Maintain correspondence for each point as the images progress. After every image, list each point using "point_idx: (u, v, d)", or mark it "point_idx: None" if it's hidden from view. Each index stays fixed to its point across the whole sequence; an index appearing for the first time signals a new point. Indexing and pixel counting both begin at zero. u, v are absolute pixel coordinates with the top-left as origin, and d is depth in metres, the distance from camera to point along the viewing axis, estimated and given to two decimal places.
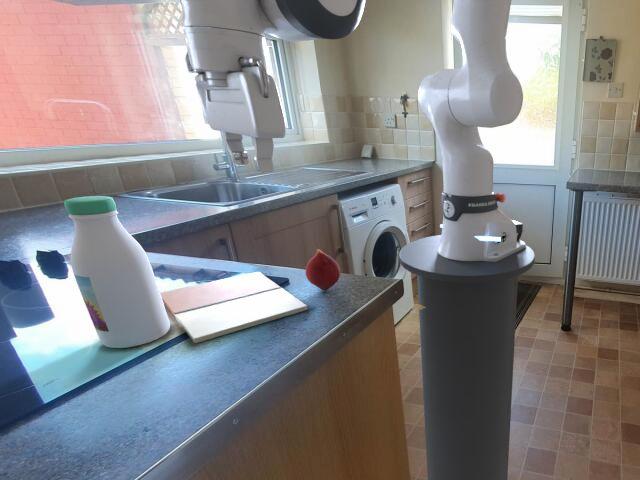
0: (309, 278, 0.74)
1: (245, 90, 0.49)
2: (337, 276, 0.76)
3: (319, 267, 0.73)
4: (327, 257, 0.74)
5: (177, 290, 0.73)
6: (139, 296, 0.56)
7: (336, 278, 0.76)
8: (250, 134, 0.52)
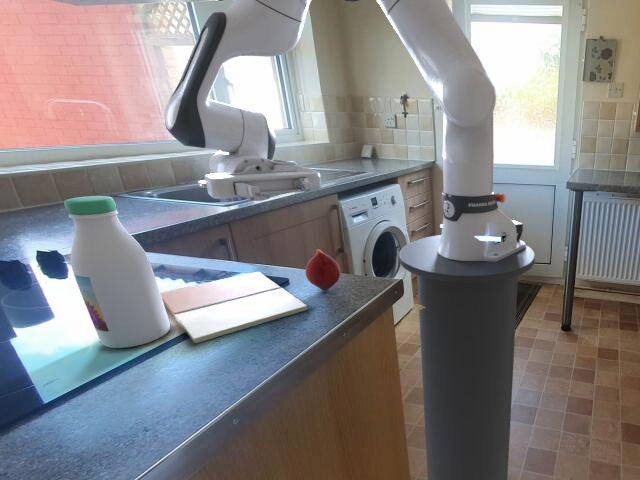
0: (309, 278, 0.74)
1: None
2: (337, 276, 0.76)
3: (319, 267, 0.73)
4: (327, 257, 0.74)
5: (177, 290, 0.73)
6: (139, 296, 0.56)
7: (336, 278, 0.76)
8: (232, 197, 0.76)
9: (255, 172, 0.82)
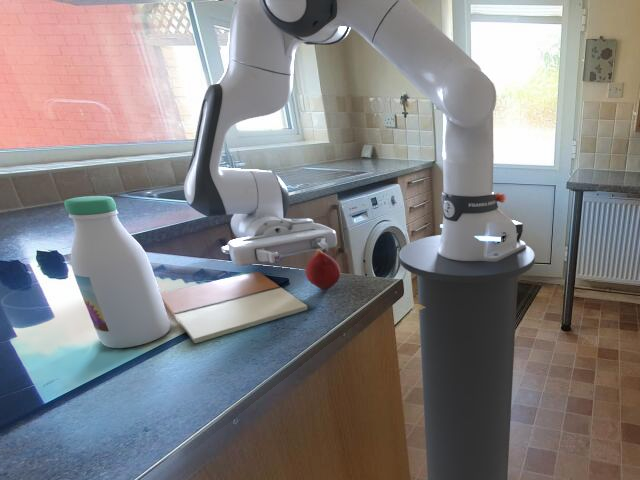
0: (309, 278, 0.74)
1: None
2: (337, 276, 0.76)
3: (319, 267, 0.73)
4: (327, 257, 0.74)
5: (177, 290, 0.73)
6: (139, 296, 0.56)
7: (336, 278, 0.76)
8: (253, 263, 0.79)
9: (274, 234, 0.86)
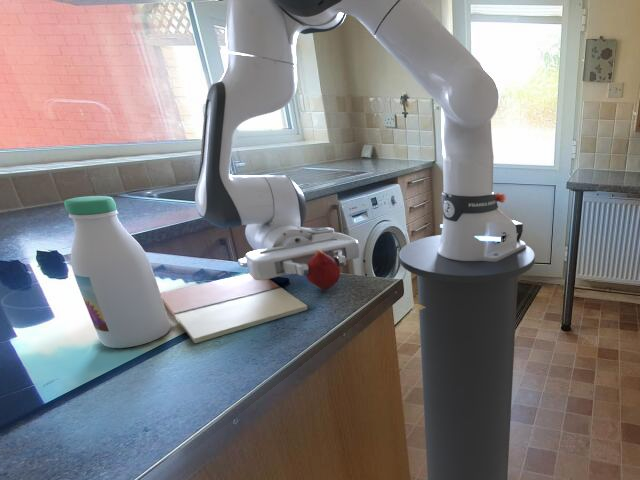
0: (309, 278, 0.74)
1: None
2: (337, 276, 0.76)
3: (319, 267, 0.73)
4: (327, 257, 0.74)
5: (177, 290, 0.73)
6: (139, 296, 0.56)
7: (336, 278, 0.76)
8: (273, 277, 0.73)
9: (294, 245, 0.80)
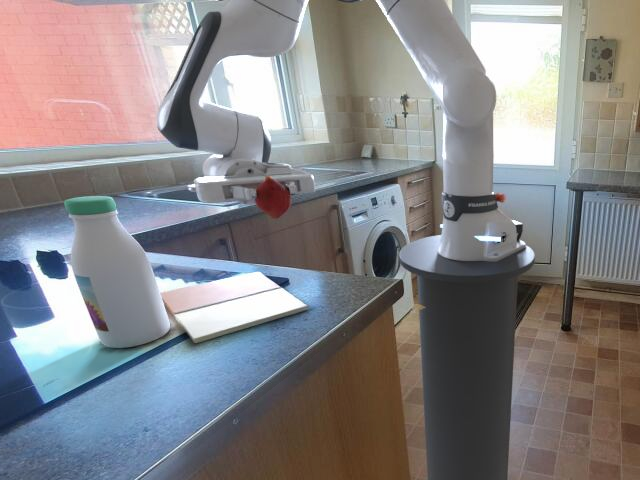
0: (258, 203, 0.74)
1: None
2: (287, 203, 0.76)
3: (268, 192, 0.73)
4: (276, 183, 0.74)
5: (177, 290, 0.73)
6: (139, 296, 0.56)
7: (286, 205, 0.76)
8: None
9: (247, 175, 0.80)
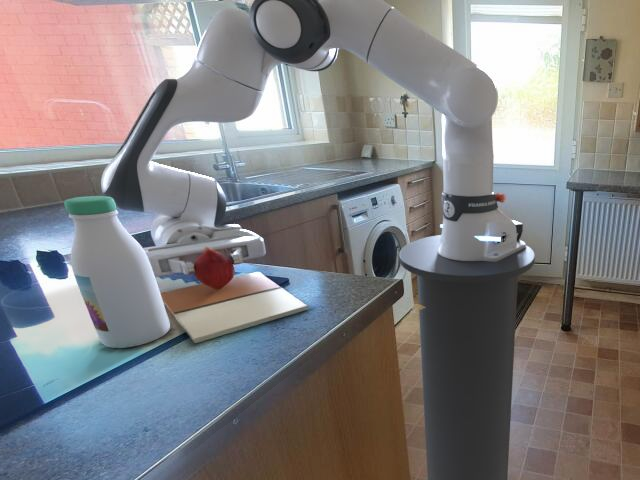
0: (196, 276, 0.70)
1: None
2: (229, 274, 0.72)
3: (206, 265, 0.69)
4: (217, 254, 0.71)
5: (177, 290, 0.73)
6: (139, 296, 0.56)
7: (228, 277, 0.72)
8: None
9: (190, 242, 0.76)
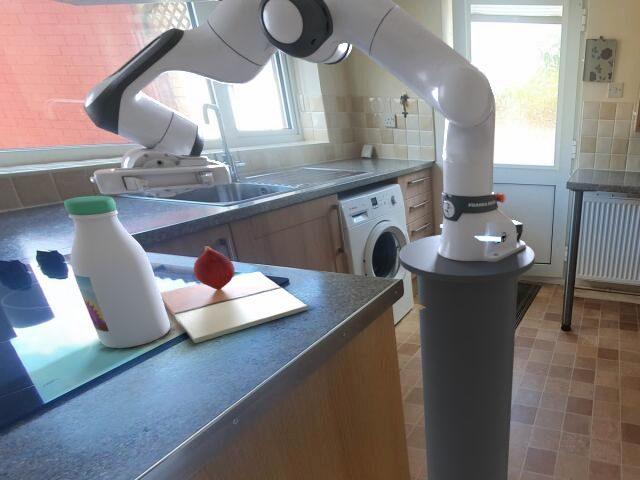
0: (196, 276, 0.70)
1: None
2: (229, 274, 0.72)
3: (206, 265, 0.69)
4: (217, 254, 0.71)
5: (177, 290, 0.73)
6: (139, 296, 0.56)
7: (228, 276, 0.72)
8: (122, 192, 0.73)
9: (156, 167, 0.79)
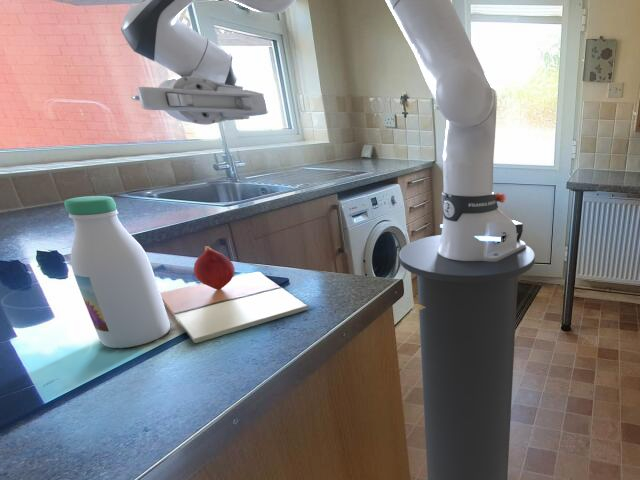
0: (196, 276, 0.70)
1: None
2: (229, 274, 0.72)
3: (206, 265, 0.69)
4: (217, 254, 0.71)
5: (177, 290, 0.73)
6: (139, 296, 0.56)
7: (228, 276, 0.72)
8: (165, 109, 0.72)
9: None
